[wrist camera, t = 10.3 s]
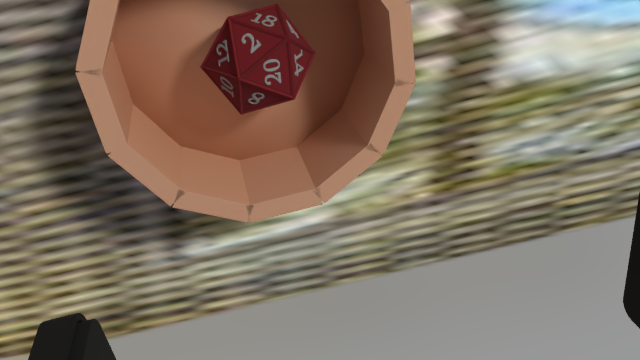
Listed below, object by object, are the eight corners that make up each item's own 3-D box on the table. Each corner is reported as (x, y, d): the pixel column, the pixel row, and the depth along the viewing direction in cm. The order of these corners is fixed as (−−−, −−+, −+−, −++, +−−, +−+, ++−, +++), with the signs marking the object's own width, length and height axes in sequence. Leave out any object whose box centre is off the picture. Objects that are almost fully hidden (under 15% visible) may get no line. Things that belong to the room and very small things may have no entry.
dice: (308, 82, 25) (330, 116, 22) (205, 95, 24) (210, 133, 21) (301, -8, 23) (324, 15, 20) (190, 5, 23) (193, 30, 19)
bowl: (358, -136, 22) (401, -136, 18) (385, 133, 28) (422, 179, 24) (50, -81, 21) (22, -67, 17) (146, 190, 27) (142, 249, 23)
